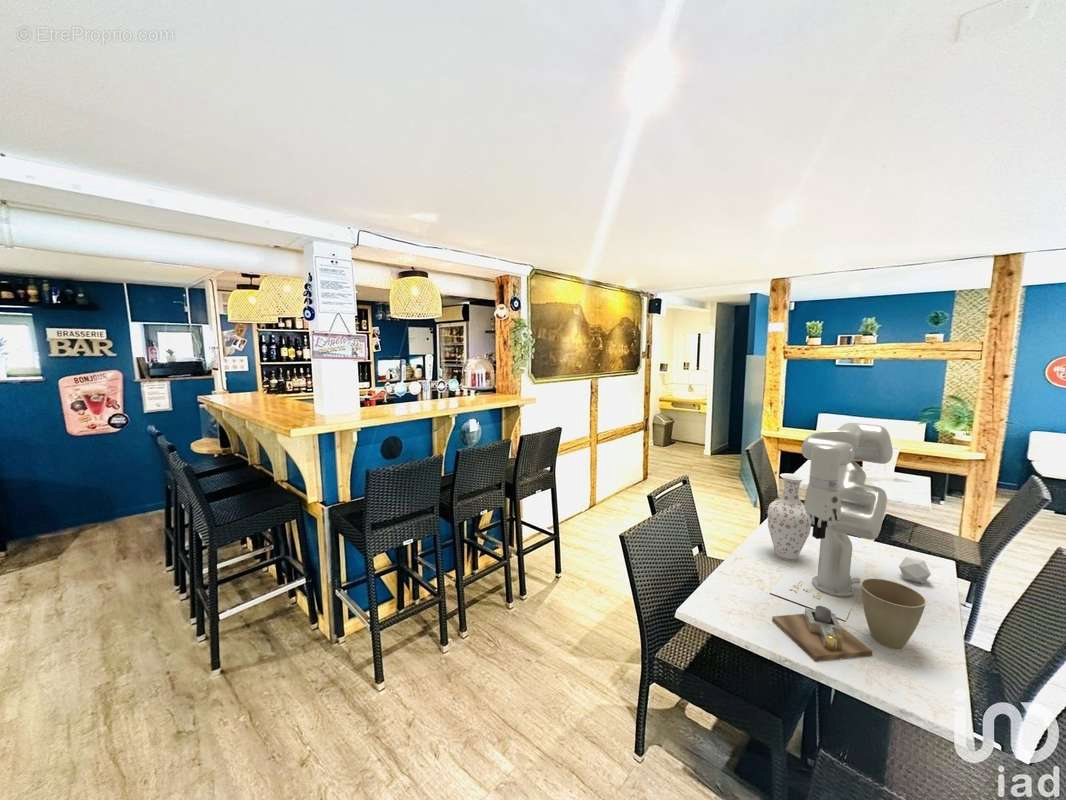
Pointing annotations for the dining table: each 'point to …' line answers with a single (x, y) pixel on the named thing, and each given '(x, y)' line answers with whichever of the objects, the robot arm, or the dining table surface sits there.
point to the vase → (789, 520)
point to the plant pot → (891, 611)
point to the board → (812, 641)
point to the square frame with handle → (824, 629)
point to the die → (914, 570)
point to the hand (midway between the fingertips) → (818, 537)
